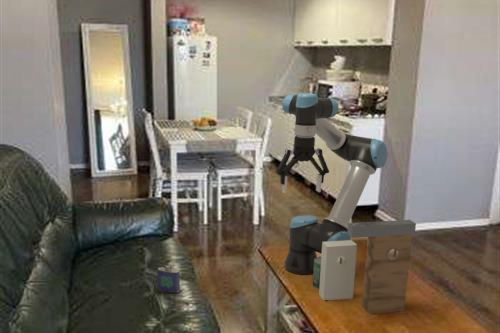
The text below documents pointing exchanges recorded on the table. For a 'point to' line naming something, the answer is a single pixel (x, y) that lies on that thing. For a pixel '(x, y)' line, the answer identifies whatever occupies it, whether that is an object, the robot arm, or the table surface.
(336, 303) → the table surface
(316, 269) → the canned tomato
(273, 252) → the table surface
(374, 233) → the grey square bar
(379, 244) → the tall cabinet
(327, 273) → the cream rectangular box
